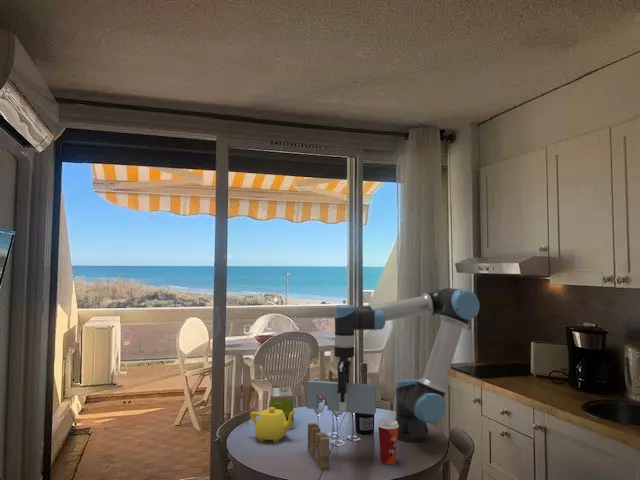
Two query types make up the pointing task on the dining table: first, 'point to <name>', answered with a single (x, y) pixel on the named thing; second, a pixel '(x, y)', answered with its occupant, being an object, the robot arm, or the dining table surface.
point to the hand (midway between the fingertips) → (343, 408)
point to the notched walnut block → (318, 445)
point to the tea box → (283, 401)
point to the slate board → (358, 396)
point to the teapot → (271, 424)
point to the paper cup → (388, 440)
